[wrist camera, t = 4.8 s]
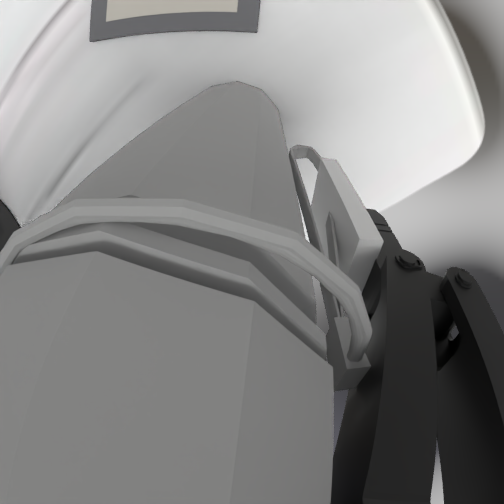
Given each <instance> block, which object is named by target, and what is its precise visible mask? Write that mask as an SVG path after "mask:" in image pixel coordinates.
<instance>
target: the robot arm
mask: <svg viewBox="0 0 504 504" xmlns="http://www.w3.org/2000/svg"><path fill="white" fill-rule="evenodd" d="M311 210H312V213H313V216H314V220H315V223H316V226H317V230H318V233H319V237H320V240H321V244H322V247H323V251H324V255H325V257H326V258H327V259H329V255H328V244H327V234H326V221H327V217H328V214H329V211H330V214H331V216H332V219H333V222H334V227H335V234H336V241H337V249H338V258H339V266H340V270H341V271H342V272H343V273H344V274H346V275H347V276H348V277H349V278H350V279H351V280H352V281H353V282H354V283H356V284H357V285H358V286H359V288H360V291H361V294H362V297H363V301H364V304H365V307H366V310H367V313H368V317H369V320H370V323H371V327H372V336H371V338H370V341H369V343H368V346H367V348H366V351H365V354H366V356H367V358H368V360H369V363H370V365H371V367H370V369H369V370H368V371H367V373H366V374H365V375H364V377H363V378H362V380H361V381H360V382H359V384H358V385H357V386H356V388H355V389H349V390H348V396H347V400H346V405H345V410H344V414H343V419H342V423H341V427H340V432H339V436H338V440H337V444H336V448H335V452H334V456H333V468H332V487H331V503H330V504H431V503H430V497H431V489H432V481H433V474H434V473H433V472H434V465H435V454H436V452H435V451H436V440H437V441H438V448H439V454H440V463H441V472H442V481H443V493H444V504H504V334H503V331H502V329H501V327H500V325H499V323H498V321H497V319H496V317H495V315H494V313H493V311H492V309H491V307H490V305H489V303H488V301H487V299H486V297H485V295H484V294H483V292H482V290H481V288H480V286H479V285H478V283H477V281H476V280H475V279H474V277H473V276H472V275H470V274H469V272H467V271H465V270H464V269H460V268H457V267H451V268H449V269H447V271H446V273H445V275H444V277H440V276H437V275H434V274H431V273H428V272H426V270H425V266H424V264H423V262H422V261H421V260H420V259H419V258H418V257H417V256H415V255H414V254H413V253H411V252H408V251H406V250H403V249H402V248H401V246H400V244H399V242H398V240H397V239H396V237H395V235H394V234H393V233H392V230H391V228H390V227H389V226H388V224H387V222H386V220H385V218H384V217H383V216H382V215H380V214H379V213H378V212H377V211H376V210H372V209H366V208H365V206H364V204H363V203H362V201H361V199H360V197H359V196H358V194H357V192H356V191H355V189H354V187H353V186H352V184H351V182H350V181H349V179H348V177H347V176H346V174H345V172H344V171H343V169H342V168H341V166H340V165H339V163H338V161H337V160H335V159H328V158H321V159H320V164H319V170H318V175H317V180H316V185H315V190H314V195H313V200H312V205H311ZM18 229H20V228H19V226H18V224H17V222H16V221H15V219H14V217H13V216H12V215H11V213H10V212H9V210H8V209H7V208H6V207H5V205H4V204H3V203H2V202H1V201H0V252H1V250H2V249H3V248H4V246H5V245H6V243H7V241H8V240H9V238H10V237H11V235H12V233H13V232H14V231H16V230H18ZM455 326H457V329H458V331H459V334H458V335H457V337H456V338H455V339H453V338H452V336H451V332H452V330H453V329H454V328H455Z"/></svg>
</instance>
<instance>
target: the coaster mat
mask: <svg viewBox="0 0 504 504" xmlns="http://www.w3.org/2000/svg"><path fill="white" fill-rule="evenodd" d="M259 7H260V0H92V6H91V20H90V42H94V41H99V40H105V39H111V38H117V37H124V36H132V35H140V34H150V33H161V32H177V31H239V32H255V33H257V27H258V17H259Z"/></svg>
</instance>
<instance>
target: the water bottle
mask: <svg viewBox="0 0 504 504" xmlns="http://www.w3.org/2000/svg"><path fill="white" fill-rule="evenodd" d="M299 158H308V159H309V160H310V161H311V162H312V163H313V164H314V166H315V167H316V169H317V171H318V170H319V164H320V159H321V157H320V155H319V154H318V153H317V152H316V151H315V150H314V149H313V148H312V147H309V146H302V145H296V146H294V147H292V148H291V149H290V151H289V155H288V150H287V146H286V141H285V137H284V133H283V128H282V124H281V120H280V116H279V112H278V108H277V107H276V106H275V105H274V104H273V102H272V101H271V100H270V99H269V98H268V97H267V95H266V94H265V93H264V92H263V91H262V90H261V89H258V88H255V87H253V86H250V85H247V84H244V83H241V82H238V81H236V82H230V83H225V84H220V85H215V86H211V87H209V88H208V89H206V90H204V91H203V92H201V93H200V94H198V95H196V96H195V97H193V98H192V99H190V100H188V101H187V102H185V103H184V104H182V105H181V106H179V107H178V108H176V109H175V110H173V111H172V112H170V113H169V114H167V115H166V116H164V117H163V118H162V119H160V120H159V121H157V122H156V123H154V124H153V125H152V126H150V127H149V128H148V129H146V130H145V131H143V132H142V133H141V134H139V135H138V136H137V137H135V138H134V139H133V140H132V141H130V142H129V143H128V144H126V145H125V146H124V147H123V148H121V149H120V150H119V151H118V152H116V153H115V154H114V155H113V156H111V157H110V158H109V159H108V160H107V161H105V162H104V163H103V164H102V165H101V166H99V167H98V168H97V169H96V170H95V171H94V172H92V173H91V174H90V175H89V176H88V177H87V178H86V179H85V180H83V181H82V182H81V183H80V184H79V185H78V186H77V187H76V188H75V189H74V190H73V191H71V192H70V193H69V194H68V195H67V196H66V197H65V198H64V199H63V200H62V201H61V202H60V203H59V204H58V205H57V206H56V207H55V208H54V209H53V210H52V211H51V212H49V213H47V214H44V215H42V216H40V217H38V218H37V219H35V220H34V221H32V222H30V223H29V224H27V225H25V226H23V227H21V228H20V229H18V230H16V231H14V232H13V233H12V235H11V237H10V238H9V240H8V241H7V243H6V245H5V246H4V248H3V249H2V250H1V252H0V504H330V503H331V487H332V468H333V432H334V426H333V425H334V392H335V391H339V390H347V389H355V388H356V386H357V385H358V384H359V382H360V381H361V380H362V378H363V377H364V375H365V374H366V373H367V371H368V370H369V369H370V367H371V365H370V363H369V360H368V358H367V356H366V354H365V351H366V348H367V346H368V343H369V341H370V338H371V336H372V327H371V323H370V320H369V317H368V313H367V310H366V307H365V304H364V301H363V298H362V294H361V291H360V288H359V286H358V285H357V284H356V283H354V282H353V281H352V280H351V279H350V278H349V277H348V276H347V275H346V274H344V273H343V272H342V271H341V270H340V266H339V258H338V249H337V241H336V234H335V227H334V222H333V219H332V216H331V214H330V211H329V214H328V217H327V221H326V234H327V244H328V255H329V259H327V258H326V257H325V255H324V251H323V247H322V244H321V240H320V237H319V233H318V230H317V226H316V223H315V220H314V216H313V213H312V210H311V206H310V203H309V200H308V196H307V193H306V190H305V187H304V184H303V181H302V177H301V174H300V171H299V168H298V165H297V162H296V159H299ZM296 192H297V193H296ZM297 196H298V198H297ZM298 199H299V203H300V206H301V210H302V214H303V217H304V221H305V225H306V229H307V233H308V237H309V241H310V243H309V242H308V241H307V240H306V239H305V234H304V229H303V223H302V218H301V213H300V208H299V203H298ZM312 276H314V277H315V278H316V279H317V280H318V281H319V282H320V286H321V291H322V295H323V300H324V304H325V309H326V313H327V319H328V323H329V330H328V333H327V335H325V334H324V333H323V331H321V330H320V329H319V328H318V327H317V325H316V299H315V293H314V287H313V280H312ZM344 311H345V312H346V314H347V315H348V317H344ZM326 355H327V360H328V363H327V362H326Z"/></svg>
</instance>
